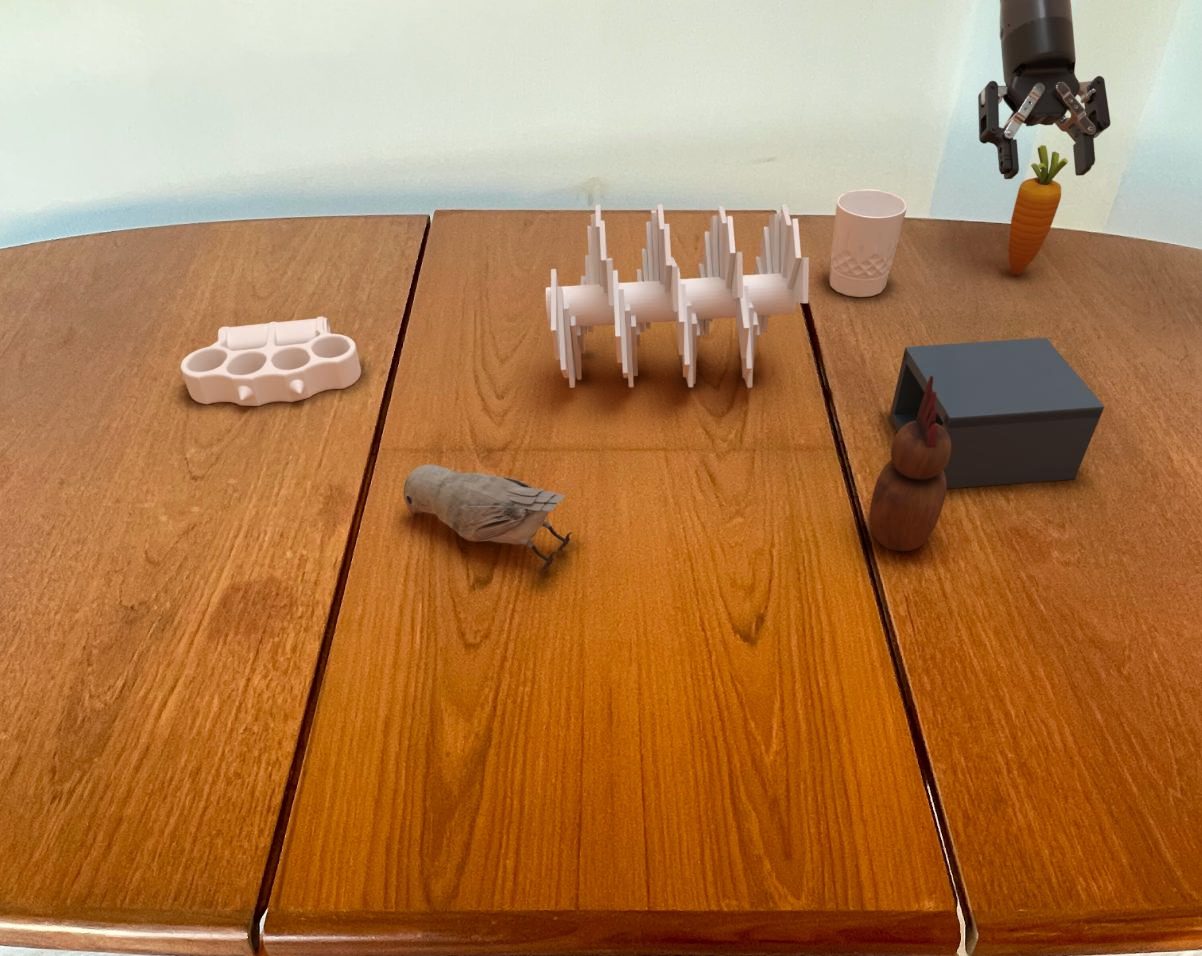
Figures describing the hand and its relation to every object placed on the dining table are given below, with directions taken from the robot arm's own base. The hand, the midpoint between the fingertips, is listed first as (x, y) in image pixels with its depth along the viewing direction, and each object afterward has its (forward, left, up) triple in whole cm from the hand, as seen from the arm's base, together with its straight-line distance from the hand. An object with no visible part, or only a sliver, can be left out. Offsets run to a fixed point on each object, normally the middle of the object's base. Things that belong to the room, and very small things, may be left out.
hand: (1048, 174), depth 111 cm
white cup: (+20, 0, -12) cm, 24 cm away
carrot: (0, 0, -12) cm, 13 cm away
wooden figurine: (+30, +46, -12) cm, 56 cm away
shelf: (+18, +34, -12) cm, 40 cm away
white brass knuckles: (+88, +12, -12) cm, 90 cm away
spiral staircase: (+46, +17, -12) cm, 51 cm away
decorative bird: (+66, +42, -12) cm, 79 cm away
